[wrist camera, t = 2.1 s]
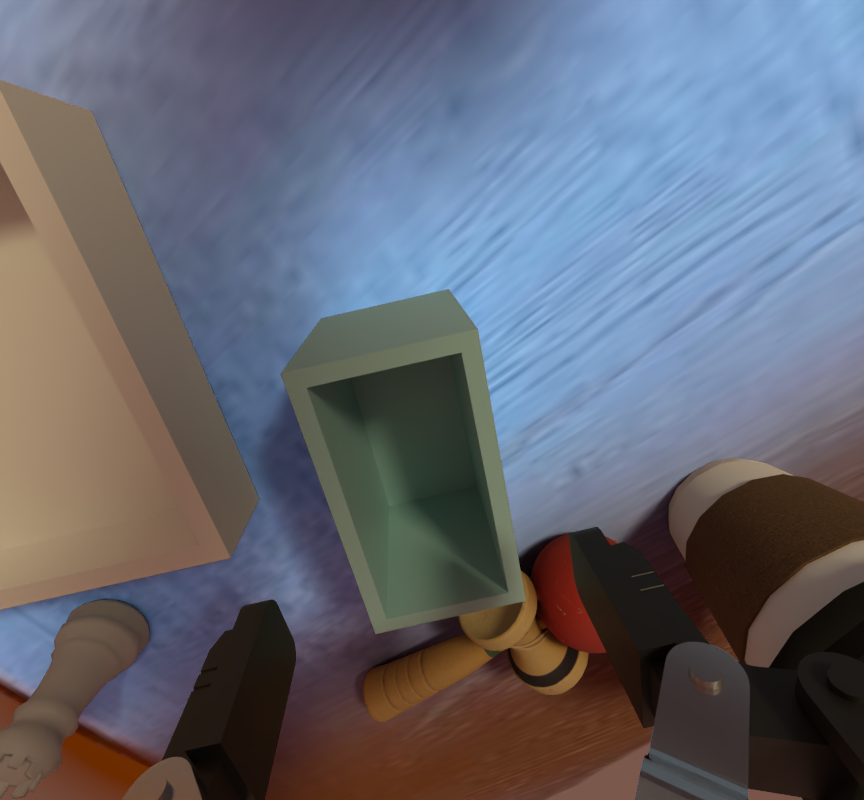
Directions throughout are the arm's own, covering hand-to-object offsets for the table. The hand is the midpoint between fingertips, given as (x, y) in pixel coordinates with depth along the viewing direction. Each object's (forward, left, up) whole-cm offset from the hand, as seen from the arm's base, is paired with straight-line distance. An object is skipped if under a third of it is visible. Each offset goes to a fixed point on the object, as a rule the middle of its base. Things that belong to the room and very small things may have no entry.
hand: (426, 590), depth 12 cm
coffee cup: (+10, +16, -12) cm, 22 cm away
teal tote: (0, 0, -12) cm, 12 cm away
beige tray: (-6, -17, -12) cm, 21 cm away
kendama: (+14, +2, -12) cm, 18 cm away
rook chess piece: (+9, -20, -12) cm, 25 cm away
